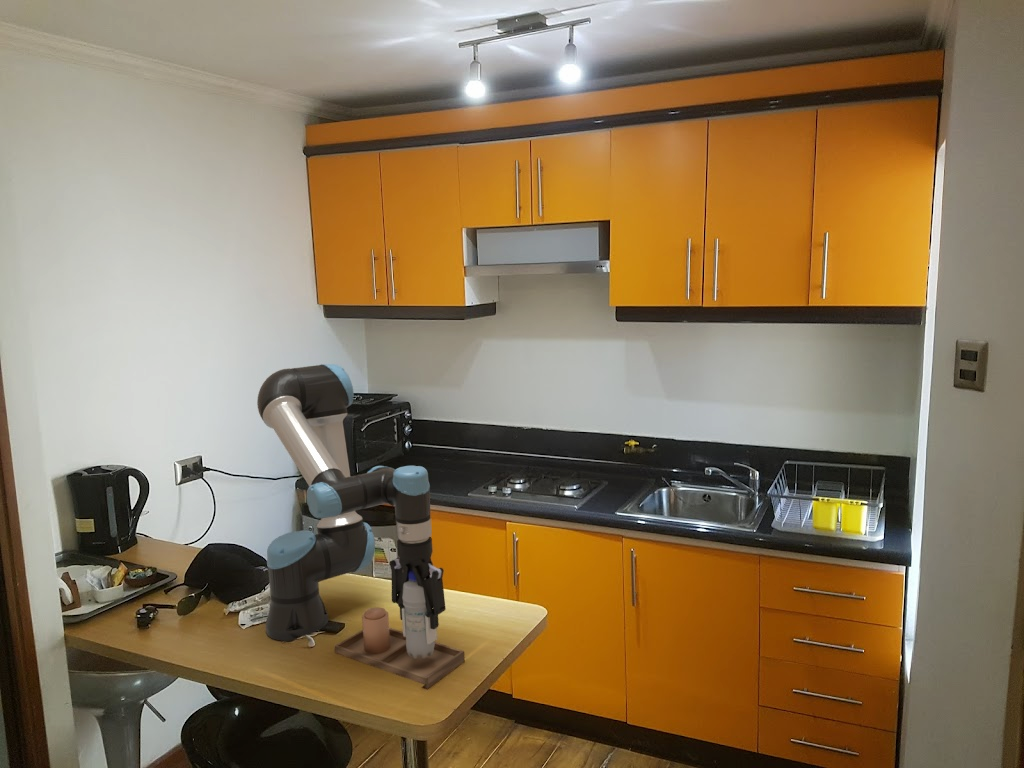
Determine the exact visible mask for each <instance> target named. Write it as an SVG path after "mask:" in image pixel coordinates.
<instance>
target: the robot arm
mask: <svg viewBox="0 0 1024 768" xmlns="http://www.w3.org/2000/svg"><path fill="white" fill-rule="evenodd" d="M354 394H355V393H354V387H353V384H352V381H351V378H350V376H349V374H348V373H347V372H346V371H345V368H344V367H342V366H341V365H338V364H335V363H332V364H330V363H329V364H327V363H326V364H316V365H308V366H301V367H293V368H283V369H279V370H277V371H275V372H273V373H271V374H270V375H269V376H268V377H266V379H265V381H263V383H262V384H261V387H260V388H259V391H258V394H257V403H256V404H257V405H256V406H257V411H258V413H259V416H260V418H261V420H262V421H263V423H264V425H266V426H267V427H268V428H270V429H273V431H274V432H275V433H276V435H277V437H278V438H279V440H280V442H281V444H282V445H283V446H284V449H285V450H286V452H287V453H288V455H289V456H290V458H291V459H292V461H293V462H294V464H295V466H296V468H297V469H298V471H299V472H300V474H301V476H302V477H303V479H304V480H305V482H306V483H307V485H308V488H307V491H306V503H307V506H308V511H309V512H310V514H311V515H312V516H313V517H314V518H316V519H320V520H319V522H318V523H317V525H316V530H317V533H316V534H314V532H312V531H311V530H307V529H305V530H303V529H302V530H294V531H290V532H287V533H284V534H282V535H280V536H277V538H274V539H273V540H272V541H271V543H269V545H268V546H267V555H266V556H267V559H266V566H267V570H268V583H269V592H270V593H269V596H270V605H269V609H268V615H267V618H266V621H265V632H266V635H267V636H268V637H269V638H270V639H273V640H275V641H282V642H292V641H296V640H298V639H299V638H301V637H306V636H309V635H311V634H314V633H316V632H318V631H320V630H322V629H323V628H325V626H326V625H328V623H329V622H328V621H329V612H328V611H327V608H326V606H325V603H324V601H323V599H322V597H321V594H320V586H319V585H320V584H319V582H322V581H326V580H329V579H332V578H336V577H339V576H343V575H346V574H350V573H356V572H358V571H360V570H361V569H365V568H367V567H369V565H370V564H371V563H372V560H373V559H374V556H375V552H376V545H375V544H376V542H375V541H376V540H375V535H374V532H372V530H373V528H372V527H371V526H370V524H368V523H367V522H365V521H363V520H364V519H363V516H362V515H360V514H358V513H357V512H356V511H360V510H365V509H369V508H373V507H377V506H380V505H384V504H388V505H390V506H392V507H394V513H395V525H396V526H395V527H396V538H397V541H396V545H397V546H396V547H397V557H396V558H394V559H392V560H390V561H389V566H390V572H391V602H392V603H393V604H397V606H398V607H399V613H400V614H399V618H400V621H402V632H403V636H404V637H406V619H405V606H404V605H403V599H402V596H403V585H404V583H405V582H407V581H408V580H409V577H408V574H409V571H413V573H414V575H415V577H416V581H417V584H418V586H422V587H423V590H424V596H425V601H426V602H425V605H426V609H427V612H428V614H427V615H425V622H426V640H427V644H431V643H432V642H434V641H435V642H436V641H437V640H438V633H437V632H438V630H437V629H438V628H439V626H440V625H439V615H440V614H442V613H443V612H445V611H446V610H447V609H446V602H445V601H446V599H445V592H444V591H445V590H444V581H443V576H444V568H443V567H439V568H437V567H436V566H435V565H434V564H433V561H432V556H433V555H432V554H433V538H432V537H431V536H432V533H433V532H432V517H431V492H430V488H431V485H430V482H429V473H428V470H427V469H426V468H425V467H423V466H421V465H418V466H416V465H405V466H400V467H398V468H396V469H395V468H393V467H389V466H386V465H385V466H384V465H376V466H374V467H372V468H370V469H369V470H368V471H367V472H366V473H362V474H357V475H356V474H355V475H351V472H350V465H349V458H348V457H349V456H348V452H347V451H348V450H347V442H346V437H345V429H344V423H343V421H344V419H345V418H346V417H347V415H348V409H347V408H348V407H350V406H351V405H352V404H353V402H354V396H355V395H354ZM425 578H426V579H425ZM423 579H424V580H423ZM422 580H423V581H422Z"/></svg>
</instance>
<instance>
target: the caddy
mask: <svg viewBox="0 0 1024 768" xmlns="http://www.w3.org/2000/svg"><path fill="white" fill-rule="evenodd" d="M389 633H390V648H389V649H388V650H387V651H385V652H383V653H379V654H369V653H367V652H365V650H364V640H363V629H361V630H360V631H358V632H356V633H355V634H353V635H352V636H349V637H348V638H346V639H344V640H342V641H341V642H339V643H337V644H336V645H334V653H335V654H338V655H341V656H343V657H346V658H350V659H352V660H355V661H358V662H360V663H363V664H366V665H369V666H371V667H374V668H377V669H380V670H382V671H386V672H388V673H391V674H394V675H397V676H399V677H403V678H405V679H408V680H411V681H414V682H417V683H418V684H419V683H420V684H422V687H421V688H422V689H424V690H428V689H430V688H431V687H432V686H434V685H435V684H437V683H438V682H439V681H441V680H442V679H443V678H444V677H446V676H447V675H449V674H450V673H451V672H453V671H454V670H455V669H457V668H458V667H460V666H461V665H462V664H463V663H465V662H466V660H465V651H464V650H462V649H459V648H456V647H452V646H449V645H447V644H442V643H440V642H437V641H435V646H434V651H433V653H432V655H431V656H428V654H427V656H426V658H425V659H423V658H422V655H418V659H414V657H411V656H409V655H408V652H407V648H406V637H404V636H403V630H402V631H400V630H398V629H395V628H392V627H389Z"/></svg>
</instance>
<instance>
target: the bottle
mask: <svg viewBox="0 0 1024 768" xmlns="http://www.w3.org/2000/svg"><path fill="white" fill-rule="evenodd" d="M408 577H409V580H408V581H407V582H405V583H404V585H403V596H402V599H403V605H404V606H405V619H406V648H407V652H408V655H409V656H411V657H414V659H418V655H422V658H423V659H425V658H426V656H427V654H428V656H431V655H432V653H433V651H434V646H435V642H436V640H435V641H434V642H432V643H431V644H427V640H426V622H425V615H427V614H428V612H427V609H426V605H425V602H426V601H425V596H424V590H423V587H422V586H418V584H417V581H416V577H415V575H414V573H413V571H409V574H408ZM425 579H426V578H425ZM423 580H424V579H423ZM423 580H422V581H423Z"/></svg>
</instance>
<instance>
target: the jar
mask: <svg viewBox="0 0 1024 768" xmlns="http://www.w3.org/2000/svg"><path fill="white" fill-rule="evenodd" d="M389 617H390V616H389V612H388V611H387V610H386V609H385V608H384V607H379V606H377V607H376V606H374V607H370V608H367V609H366V610H364V613H363V614H362V616H361V623H362V630H363V640H364V650H365V652H367V653H369V654H379V653H383V652H385V651H387V650H388V649H389V648H390V633H389V628H390V622H389V621H390V618H389Z"/></svg>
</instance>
